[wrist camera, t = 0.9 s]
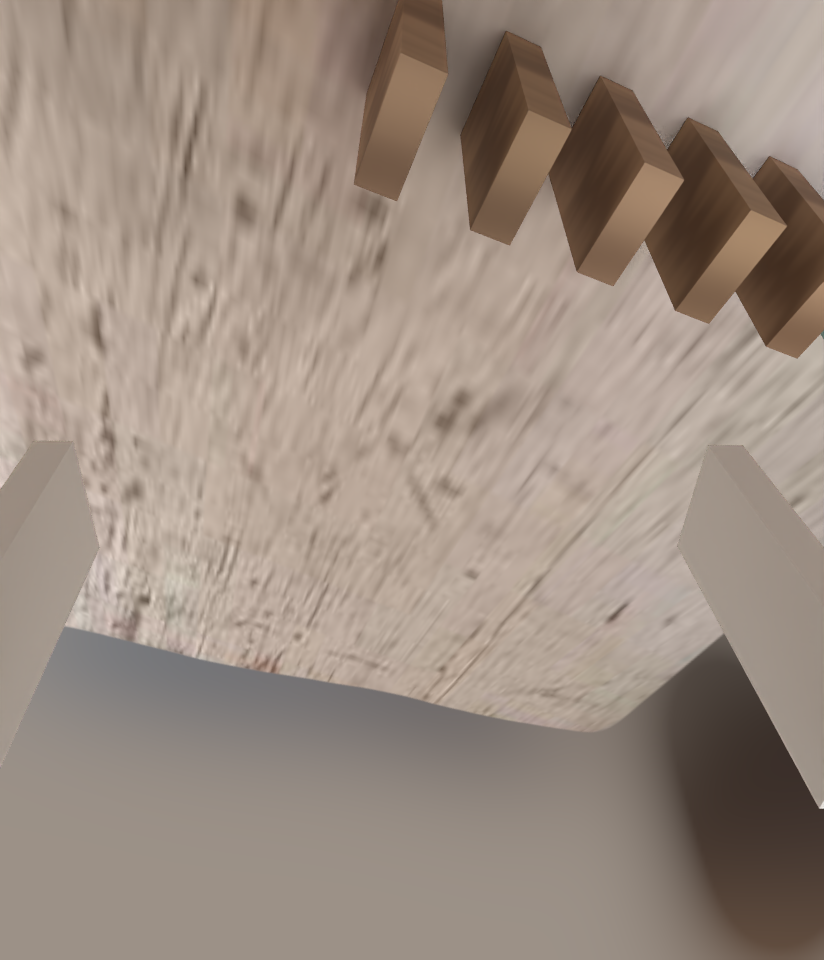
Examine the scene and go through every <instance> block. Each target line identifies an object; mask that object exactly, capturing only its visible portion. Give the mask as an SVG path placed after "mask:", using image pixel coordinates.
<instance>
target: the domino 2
mask: <svg viewBox="0 0 824 960" xmlns="http://www.w3.org/2000/svg"><path fill="white" fill-rule="evenodd" d="M571 130H572V128H571V126H570V123H569V120H568V118H567V115H566V112H565V110H564V107H563V104H562V102H561V99H560V96H559V94H558V91H557V88H556V86H555V83H554V81H553V78H552V75H551V73H550V70H549V67H548V65H547V62H546V59H545V57H544V54H543V51H542V49H541V47H539V46H537V45H535V44H533V43H531V42H529V41H527V40H525V39H523V38H520V37H518V36H516V35H514V34H512V33H510V32H508V31H506V32H505V34H504V37H503V39H502V41H501V44H500V46H499V48H498V51H497V53H496V55H495V57H494V60H493V62H492V64H491V67H490V69H489V71H488V73H487V76H486V78H485V80H484V83H483V85H482V87H481V89H480V92H479V94H478V96H477V99H476V101H475V103H474V105H473V108H472V110H471V112H470V115H469V117H468V119H467V121H466V124H465V126H464V128H463V131H462V133H461V145H462V154H463V164H464V174H465V184H466V194H467V204H468V213H469V223H470V230H472V231H474V232H477V233H479V234H482V235H484V236H487V237H489V238H492V239H495V240H497V241H500V242H502V243H505V244H507V245H510V244H511V242H512V240H513V238H514V236H515V235H516V233H517V231H518V229H519V227H520V225H521V223H522V222H523V220H524V218H525V216H526V214H527V212H528V210H529V209H530V207H531V205H532V203H533V201H534V199H535V197H536V195H537V194H538V192H539V190H540V188H541V186H542V184H543V182H544V181H545V179H546V177H547V175H548V173H549V171H550V169H551V167H552V166H553V164H554V162H555V160H556V158H557V156H558V154H559V153H560V151H561V149H562V147H563V145H564V143H565V141H566V139H567V138H568V136H569V134H570V132H571Z"/></svg>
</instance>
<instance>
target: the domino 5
mask: <svg viewBox="0 0 824 960" xmlns="http://www.w3.org/2000/svg"><path fill="white" fill-rule="evenodd" d="M753 180H754V181H755V183H756V184H757V186H758V187H759V188H760V190H761V191H762V192H763V194H764V195H765V196H766V198H767V199H768V201H769V202H770V203H771V205H772V206H773V207H774V209H775V210H776V212H777V213H778V214H779V216H780V217H781V218H782V220H783V221H784V222H785V224H786V225H787V227H786V228H785V230H784V231H783V232H782V233H781V235H780V236H779V237H778V238H777V240H776V241H775V242H774V243H773V245H772V246H771V247H770V248H769V250H768V251H767V252H766V253H765V254H764V256H763V257H762V258H761V259H760V261H759V262H758V263H757V264H756V266H755V267H754V268H753V269H752V271H751V272H750V273H749V274H748V276H747V277H746V278H745V279H744V281H743V282H742V283H741V284H740V286H739V287H738V288H737V289H736V291H735V292H736V293H737V295H738V297H739V299H740V301H741V302H742V304H743V306H744V308H745V310H746V311H747V313H748V315H749V317H750V319H751V320H752V322H753V324H754V326H755V328H756V329H757V331H758V333H759V335H760V337H761V338H762V340H763V342H764V344H765V346H766V347H769V348H771V349H774V350H776V351H779V352H782V353H784V354H787V355H789V356H792V357H794V358H798V357H799V356H800V355H801V354H802V353H803V352H804V351H805V350H806V349H807V348H808V347H809V345H810V344H811V343H812V342H813V341H814V340H815V339H816V338H817V337H818V336H819V335H820V334H821V333H822V332H823V331H824V200H823V199H822V198H821V197H820V195H819V194H818V193H817V192H816V191H815V190H814V188H813V187H812V186H811V185H810V184H809V182H808V181H807V180H806V179H805V178H804V177H803V175H802V174H801V173H800V172H799V171H798V169H795V168H793V167H791V166H789V165H787V164H785V163H783V162H781V161H779V160H776V159H774V158H772V157H770V156H769V158H768V159H767V160H766V162H765V163H764V164H763V166H762V167H761V168H760V170H759V171H758V173H757V174H756V175H755V177H754V178H753Z"/></svg>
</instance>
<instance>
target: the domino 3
mask: <svg viewBox="0 0 824 960" xmlns="http://www.w3.org/2000/svg"><path fill="white" fill-rule="evenodd" d="M549 177H550V180H551V184H552V187H553V191H554V194H555V198H556V201H557V205H558V208H559V212H560V215H561V219H562V222H563V225H564V229H565V232H566V236H567V239H568V243H569V246H570V250H571V253H572V257H573V260H574V264H575V267H576V271H577V272H578V273H581V274H583V275H586V276H588V277H591V278H593V279H596V280H599V281H601V282H604V283H606V284H609V285H611V286H614V284H615V283H616V281H617V280H618V278H619V277H620V275H621V274H622V272H623V271H624V269H625V268H626V266H627V265H628V263H629V262H630V261H631V259H632V258H633V256H634V255H635V253H636V252H637V250H638V249H639V247H640V246H641V244H642V243H643V241H644V240H645V238H646V237H647V235H648V234H649V232H650V231H651V229H652V228H653V226H654V225H655V223H656V222H657V220H658V219H659V217H660V216H661V214H662V213H663V211H664V210H665V208H666V207H667V205H668V204H669V202H670V201H671V199H672V198H673V196H674V195H675V193H676V192H677V190H678V189H679V187H680V186H681V184H682V183H683V181H684V178H683V177H682V175H681V173H680V172H679V170H678V168H677V166H676V165H675V163H674V161H673V160H672V158H671V156H670V154H669V153H668V151H667V149H666V147H665V146H664V144H663V142H662V141H661V139H660V137H659V135H658V134H657V132H656V130H655V129H654V127H653V125H652V123H651V122H650V120H649V118H648V116H647V115H646V113H645V111H644V110H643V108H642V106H641V104H640V103H639V101H638V99H637V98H636V96H635V94H634V92H633V91H632V90H630V89H628V88H625V87H623V86H621V85H619V84H617V83H615V82H613V81H611V80H609V79H606V78H604V77H602V76H600V77H599V79H598V81H597V83H596V85H595V87H594V88H593V90H592V92H591V94H590V96H589V98H588V100H587V101H586V103H585V105H584V107H583V109H582V111H581V113H580V115H579V116H578V118H577V120H576V122H575V124H574V126H573V128H572V130H571V132H570V134H569V136H568V138H567V139H566V141H565V143H564V145H563V147H562V149H561V151H560V153H559V154H558V156H557V158H556V160H555V162H554V164H553V166H552V167H551V169H550V171H549Z"/></svg>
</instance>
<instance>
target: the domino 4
mask: <svg viewBox="0 0 824 960" xmlns="http://www.w3.org/2000/svg"><path fill="white" fill-rule="evenodd" d="M667 151H668V153H669V154H670V156H671V158H672V160H673V161H674V163H675V165H676V166H677V168H678V170H679V172H680V173H681V175H682V177H683V178H684V181H683V183H682V184H681V186H680V187H679V189H678V190H677V192H676V193H675V195H674V196H673V198H672V199H671V201H670V202H669V204H668V205H667V207H666V208H665V210H664V211H663V213H662V214H661V216H660V217H659V219H658V220H657V222H656V223H655V225H654V226H653V228H652V229H651V231H650V232H649V234H648V235H647V237H646V238H645V242H646V245H647V247H648V249H649V252H650V254H651V256H652V259H653V261H654V263H655V265H656V268H657V270H658V272H659V275H660V277H661V279H662V281H663V284H664V286H665V288H666V291H667V293H668V295H669V297H670V300H671V302H672V304H673V307H674V309H675V311H677V312H680V313H683V314H685V315H688V316H690V317H693V318H695V319H698V320H700V321H703V322H706V323H708V324H709V323H710V322H711V321H712V319H713V318H714V317H715V316H716V314H717V313H718V312H719V311H720V309H721V308H722V307H723V306H724V304H725V303H726V302H727V301H728V299H729V298H730V297H731V296H732V294H733V293H734V292H735V291H736V289H737V288H738V287H739V286H740V284H741V283H742V282H743V281H744V279H745V278H746V277H747V276H748V274H749V273H750V272H751V271H752V269H753V268H754V267H755V266H756V264H757V263H758V262H759V261H760V259H761V258H762V257H763V256H764V254H765V253H766V252H767V251H768V250H769V248H770V247H771V246H772V245H773V243H774V242H775V241H776V240H777V238H778V237H779V236H780V235H781V233H782V232H783V231H784V230H785V228H786V227H787V225H786V224H785V222H784V221H783V220H782V218H781V217H780V216H779V214H778V213H777V212H776V210H775V209H774V207H773V206H772V205H771V203H770V202H769V201H768V199H767V198H766V196H765V195H764V194H763V192H762V191H761V190H760V188H759V187H758V186H757V184H756V183H755V181H754V180H753V179H752V177H751V176H750V175H749V173H748V172H747V171H746V169H745V168H744V166H743V165H742V164H741V162H740V161H739V160H738V158H737V157H736V155H735V154H734V153H733V151H732V150H731V149H730V147H729V146H728V145H727V143H726V142H725V140H724V139H723V138H722V136H721V135H720V134H719V132H718V131H716V130H714V129H712V128H709V127H707V126H705V125H703V124H701V123H699V122H697V121H695V120H693V119H690V118H687V120H686V121H685V123H684V124H683V126H682V127H681V129H680V131H679V132H678V134H677V135H676V137H675V138H674V140H673V142H672V143H671V145H670V146H669V148H668V149H667Z"/></svg>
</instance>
